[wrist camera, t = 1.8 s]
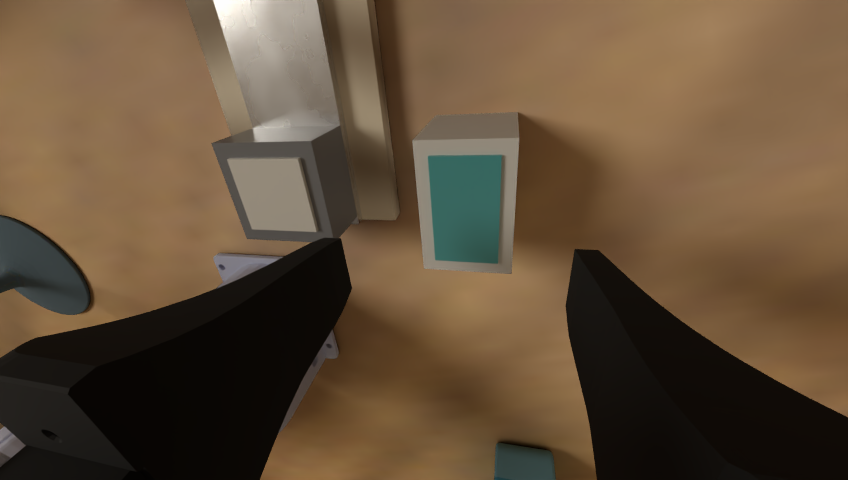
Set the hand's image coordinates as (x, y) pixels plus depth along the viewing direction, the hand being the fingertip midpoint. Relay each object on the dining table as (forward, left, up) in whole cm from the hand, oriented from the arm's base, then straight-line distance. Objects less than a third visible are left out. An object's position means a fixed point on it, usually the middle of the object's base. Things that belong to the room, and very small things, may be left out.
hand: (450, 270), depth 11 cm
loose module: (0, 0, -9) cm, 9 cm away
